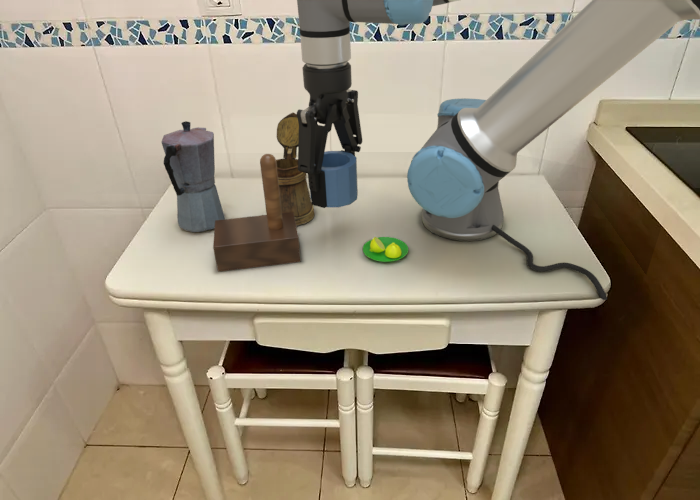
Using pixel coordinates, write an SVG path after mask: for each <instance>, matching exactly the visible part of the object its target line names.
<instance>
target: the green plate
mask: <svg viewBox="0 0 700 500" xmlns="http://www.w3.org/2000/svg"><path fill="white" fill-rule="evenodd" d="M362 252H363V254H364V255H365V256H366V257H367V258H369V259H370V260H372V261H373V260H374V261H377V262H383V263H389V262H390V263H391V262H395V261H398V260H399V261H400V260H401V259H403V258H405V257H406V256H407V255H408V253H409V247H408V244H406V242H405V241H403V240H401V239H399V238H396V237H391V236H378V237H376V236H373V238H371V239H369V240H368V241H366V242H365V243H364V244H363V246H362Z"/></svg>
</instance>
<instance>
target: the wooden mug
mask: <svg viewBox="0 0 700 500" xmlns="http://www.w3.org/2000/svg"><path fill="white" fill-rule="evenodd" d="M276 140H277V142H278V143H279V145H280V146H281V147H282V149H283V155H282V158H278V159H276V163H277V172H278V181H279V191H280V200H281V209H282V213H289V212H294V217H295V222H296V227H297V226H301V225H305V224H307V223H309V222H311V221H312V220H313V219H314V217H315V207H314V205H312V201H311V196H310V189H309V184H308V179H307V173H304V172H300V171H298V158H297V157H298V141H299V123H298V118H297V113H295V112H290V113H289V114H287V115H285V116H284V117H283V118H282V119H280V120H279V122H278V123H277V126H276Z"/></svg>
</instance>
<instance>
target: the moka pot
mask: <svg viewBox="0 0 700 500" xmlns="http://www.w3.org/2000/svg"><path fill="white" fill-rule="evenodd" d="M180 123H181V126H182V129H179V130H175V131H172V132H169V133H166V134H164V135H163V137H162V139H161V146H162V149H163V152H164V157H163V166H164V169H165V171H166V173H167V175H168V178H169V180H170V183H171V185H172V187H173V190H174V192H175V195H176V209H177V211H176V213H177V214H176V215H177V217H176V218H177V224H178V226H179V228H180V229H182V230H184V231H187V232H191V233H197V232H198V233H202V232H206V231H211V230H214V229H215V220H224V219H226V217H225V214H224V210H223V206H222V204H221V200H220V195H219V192H218V188H217V186H216V184H215V183H216V178H215V172H216V169H215V168H216V167H215V166H216V164H215V133H214V132H213V131H210V130H207V128H206V127H199V126H198V127H193V128H191V122H190V121H186V120H185V121H182V122H180Z"/></svg>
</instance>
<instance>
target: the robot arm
mask: <svg viewBox="0 0 700 500" xmlns="http://www.w3.org/2000/svg"><path fill="white" fill-rule="evenodd" d="M459 1H460V0H296V3H297V13H298V24H299V37H300V49H301V61H302V62H303V63H304V65H303V66H302V79H303V80H302V81H303V87H304V90H305V91H306V92H307V93H308V94H309V102H308V107H306V108H305V109H297V111H296V114H297V118H298V123H299V141H298V147H297V159H298V171H300V172H304V173H306V174H307V182H308V190H309V191H310V190H311V196H310V199H311V202H312V205H313V206H315V207H319V208H322V209H326V208H328V207H327V198H326V183H325V171H321V168H322V163H323V157H324V152H326V146H327V142H328V141H327V140H328V136H329V135H328V134H329V133H330V132H331V131H332V129H333V127H334V129H335V132H336V134H337V137H338V140H339V144H340V145H341V150H340V151H343V152H348V153H351V154H352V155H354V156H355V157H356V153H360V152H361V149H362V147H361V146H360V145H362V143H363V134H362V127H361V120H360V113H359V112H360V111H359V91H358V90H355V89H350V88H351V87H352V82H353V81H352V80H353V79H352V65H351V63H350V62H349V61H350V60H351V59H352V49H351V47H352V46H351V27H350V25H351V24H350V23H365V24H367V23H369V24H386V25H387V24H389V25H397V26H405V25H418V24H419V25H421V24H423V23H425V22H426V21H428V18H429V17H430V14H431V12H432V9H433V7H436V6H441V5H446V4H449V3H453V2H459ZM690 20H691V21H692V20H700V0H591V1H590V2H589V3H588V4H586V6H584V7H583V8H582V9H581V10H580V11H579V12H578V13H577V14H575V16H574V17H573V18H572V19H571V20H569V22H567V24H565V26H563V27H562V28H561V29H560V30H559V31H558V32H557V33H555V35H554V36H553V37H551V38H550V39H549V40H548V41H547V42H546V43H545V44H544V45H543V46H542V47H541V48H540V49H539V50H538V51H536V53H534V54H533V56H532V57H530V58H529V60H527V61H526V62H525V63H523V65H522V66H520V68H519V69H518V70H517V71H516V72H514V73H513V74H512V75H511V76H510V77H509V78H508V79H507V80H506V81H505V82H504V83H503V84H502V85H501V86H500V87H499V88H498V89H497V90H495V91H494V92H493V93H492V94H491V95H490V96H489V97H487V99H480V98H450V99H447V100H444V101H442V102H441V103H440V105H439V109H438V113H437V114H436V115H437V118H438V119H437V127H436V130H435V131H434V132H433V133H432V134H431V135H430V137H429V138H428V139H427V141H425V143H424V144H423V146H422V147H420V149H419V150H418V151H416V153H415V154H414V155H413V156H412V159H411V162H410V164H409V166H408V169H407V173H406V178H407V179H406V180H407V187H408V190H409V193H410V195H411V197H412V199H413V200H414V201H415V202H416V203H417V204H418V206H420V208H422V210H421V222H422V224H423V226H424V227H425V228H426V229H427V230H428V231H429V232H431V233H433V234H434V235H436V236H439V237H441V238H444V239H448V240H453V241H459V242H475V241H482V240H486V239H489V238H491V237H494V236H496V235H498V236H500V237H501V238H503V239H504V240H505V241H507V243H510V244H511V245H513V246H514V247H516V248H517V249H519V250H520V251H521V252H523V253H524V254H525V256H526V265H527V267H528V268H529V269H530V270H532V271H535V272H538V273H546V272H551V271H556V270H560V269H568V270H571V271H574V272H577V273H579V274H582V275H583V276H585V277H586V278H587V279H588V280H589V281H590V282H591V284H592V285H593V287H594V289H595V290H596V293H597V294H598V296H599V298H600V299H601V300H604V301H607V300H608V296H607V294H606V291H605V290H604V287H603V286H602V284H601V282H600V280H599V279H598V278H597V276H595V274H594V273H592V272H591V271H589V270H588V269H587V268H585V267H582V266H579V265H577V264H574V263H570V262H557V263H552V264H549V265H544V266H543V265H537V264H535V263H534V254H533V252H532V251H531V250H530V249H529V248H528V247H526V245H524V244H522V243H521V242H519V241H518V240H517V239H514V238H513V237H512V236H510V235H509V234H508V233H506V232H505V231H504V230H502V228H503V224H504V218H505V217H504V209H503V205H502V200H501V194H500V189H499V183H500V181H501V180H502V179H504V178H505V177H507V175H508V174H510V173H511V172H512V171H513V170H515V168H516V166H517V159H518V153H519V152H520V151H522V150H523V149H524V148H525V147H527V146H528V145H529V144H530V143H531V142H533V141H534V140H535V139H537V137H539V136H540V135H541V134H542V133H544V132H545V131H546V130H547V129H549V128H550V127H551V126H552V125H553V124H555V123H556V122H557V121H558V120H559V119H561V118H562V117H563V116H565V115H566V114H567V113H568V112H569V111H571V110H572V109H573V108H574V107H575V106H577V105H578V104H579V103H581V102H582V101H583V100H584V99H586V98H587V97H588V96H589V95H591V94H592V93H593V92H594V91H595V90H597V89H598V88H599V87H600V86H601V85H603V83H605V82H607V80H609V79H610V78H611V77H612V76H614V75H615V74H616V73H618V72H619V71H620V70H621V69H622V68H624V67H625V66H626V65H627V64H628V63H629V62H631V61H632V60H634V59H635V58H636V57H637V56H638V55H640V54H641V53H642V52H643V51H645V50H646V49H647V48H648V47H650V45H652V44H653V43H654V42H656V41H657V40H658V39H659V38H661V36H663V35H665V33H667V32H668V31H669V30H671V28H673V27H674V26H675V25H676V24H678V23H679V22H683V21H690ZM318 123H319V124H318Z"/></svg>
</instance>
